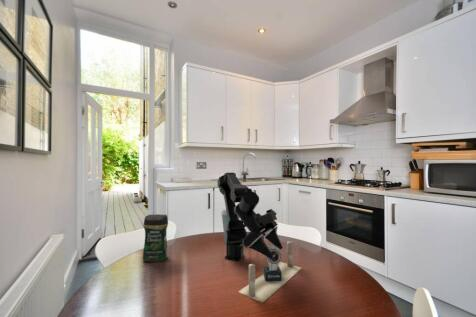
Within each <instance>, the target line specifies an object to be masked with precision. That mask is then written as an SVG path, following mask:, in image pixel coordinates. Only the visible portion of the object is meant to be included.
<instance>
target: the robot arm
mask: <svg viewBox="0 0 476 317" xmlns="http://www.w3.org/2000/svg"><path fill="white" fill-rule="evenodd" d="M217 187H218V190H219V192H220V194H221V195H222V196H223V200H224V204H225V205H224V206H225V209H226V212H227V217H228V225H227V228H226V231H225V234H224V233H223V243H224V244H225V245H226V247H225V248H226V249H225V250H226V253H225V254H226V255H225V256H224V259H227V260H232V261H236V262H238V261H240V260H241V259H242V258H244V256H245V254H244V252H245V251H244V247H245V248H246V249H247V248H248V249H251V250H254V251H256V252H258V253H260V254H262V255H263V256H267V257H269V258H272V257H273V255H272V253H271V252H270V250H269V249H268V245H267V244H266V242H265V239H266V240H268V241H269V242H270V243H271V244H272V245H275V246H276V248H277V249H278V250H282V249H283V245H282V242H281V240H280V238H279V236H278V233H277V232H278V223H277V222H276V221H277V220H278V218H277V214H278V213H277V212H275V210H273V209H272V208H270V209H268V210H266V213H264V214H262V215H261V213H259V212H257V213H256V211H254V210H255V208H257V206H258V204H259V203H260V202H259V201H260V197H259V195H258V194H257V193H256V192H254V191H253V190H252V188H249V187H248V186H247V185H245V184H243V183H241V181H240V180H239V178H238V177H237V174H236V172H225V173H224V174H223V175H221V176H219V177H218V179H217ZM236 203H238V204H237V205H236ZM238 216H239V219H238ZM246 228H247V229H248V231H249V233H248V232H247V230H246ZM243 245H244V246H243ZM267 257H266V258H267Z"/></svg>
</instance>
